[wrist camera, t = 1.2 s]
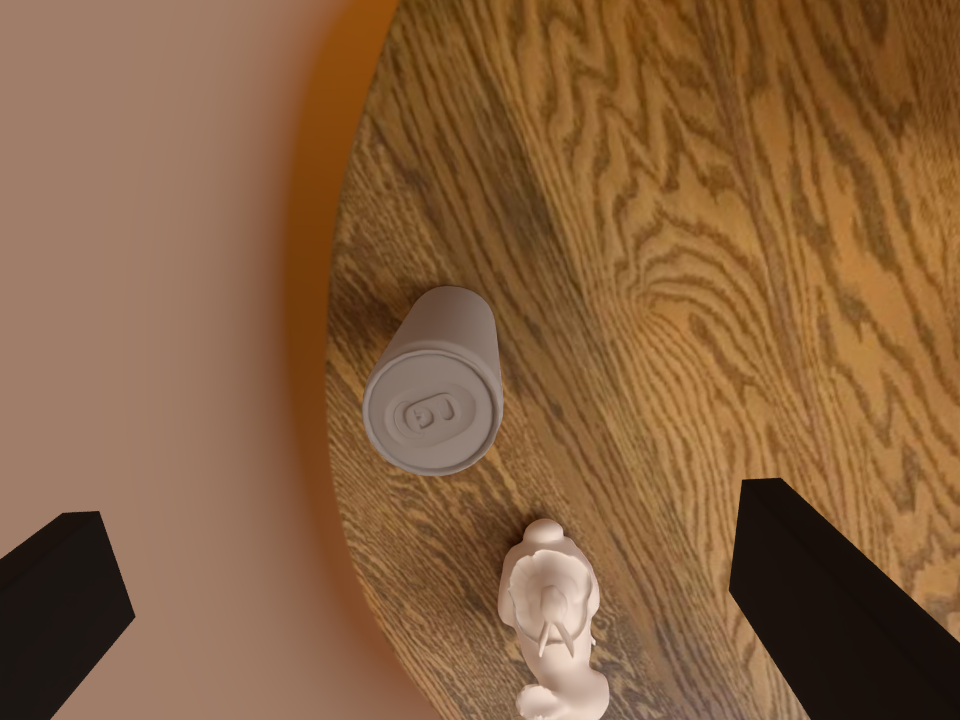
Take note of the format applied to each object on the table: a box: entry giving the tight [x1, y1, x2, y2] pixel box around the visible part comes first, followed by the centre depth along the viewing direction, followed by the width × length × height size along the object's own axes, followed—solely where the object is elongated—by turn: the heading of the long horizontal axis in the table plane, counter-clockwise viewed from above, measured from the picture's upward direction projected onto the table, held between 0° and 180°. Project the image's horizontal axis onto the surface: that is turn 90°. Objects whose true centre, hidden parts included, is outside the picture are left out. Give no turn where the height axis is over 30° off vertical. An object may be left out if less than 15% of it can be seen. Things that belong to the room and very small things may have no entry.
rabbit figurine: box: [498, 519, 609, 720], centre depth 28 cm, size 12×8×10 cm, turn 8°
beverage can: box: [362, 286, 504, 476], centre depth 22 cm, size 5×5×12 cm
